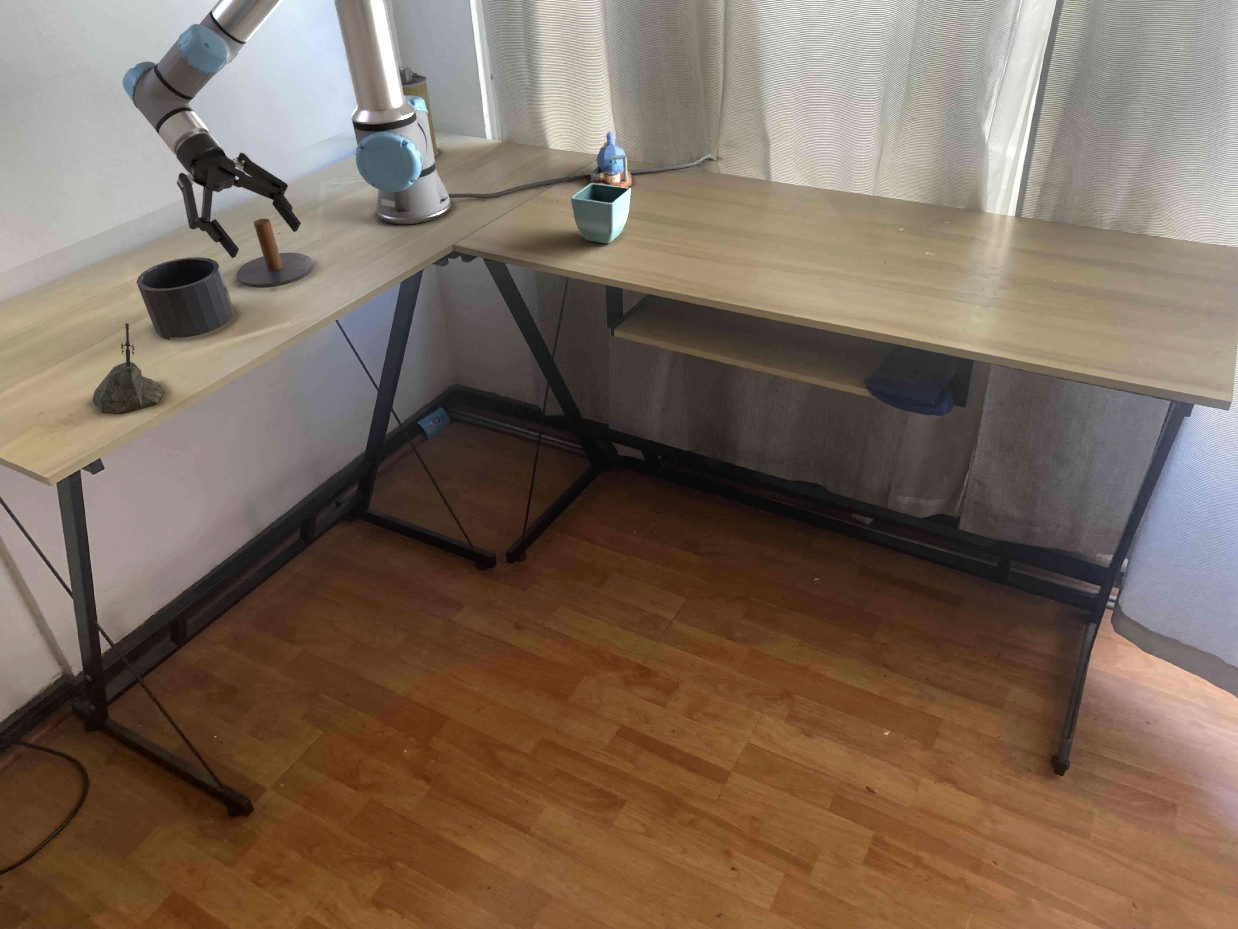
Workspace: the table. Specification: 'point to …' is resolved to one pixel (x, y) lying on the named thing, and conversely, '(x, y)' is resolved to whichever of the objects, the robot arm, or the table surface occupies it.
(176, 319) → the tin
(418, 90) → the canister
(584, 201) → the flower pot
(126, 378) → the sword in stone
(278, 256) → the lid
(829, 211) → the table surface
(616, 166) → the model
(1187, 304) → the table surface
